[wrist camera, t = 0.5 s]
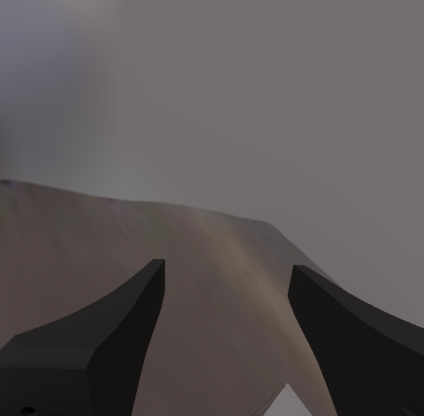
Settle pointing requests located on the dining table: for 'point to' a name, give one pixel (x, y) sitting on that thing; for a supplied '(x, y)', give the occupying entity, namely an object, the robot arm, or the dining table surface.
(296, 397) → the block
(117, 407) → the robot arm
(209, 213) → the dining table surface
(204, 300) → the dining table surface
